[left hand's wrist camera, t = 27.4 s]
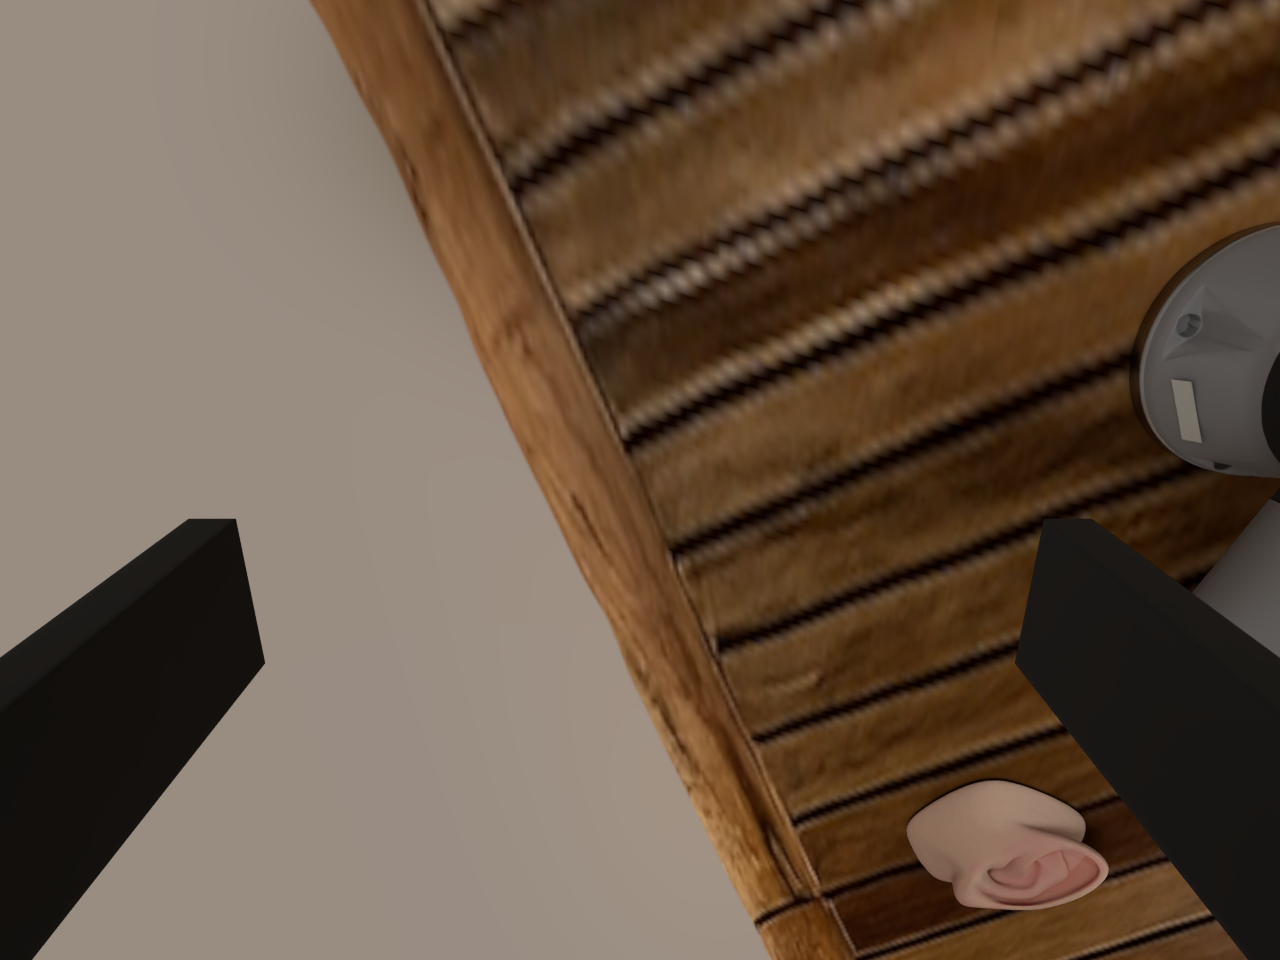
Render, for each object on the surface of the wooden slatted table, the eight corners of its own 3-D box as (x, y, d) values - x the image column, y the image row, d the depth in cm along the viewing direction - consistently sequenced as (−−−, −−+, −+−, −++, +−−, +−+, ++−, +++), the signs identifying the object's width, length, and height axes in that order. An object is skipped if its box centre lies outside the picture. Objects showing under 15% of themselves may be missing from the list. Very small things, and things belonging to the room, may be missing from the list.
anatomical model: (897, 886, 58) (1006, 788, 55) (881, 844, 62) (982, 750, 59) (1022, 958, 61) (1133, 869, 58) (1000, 914, 65) (1103, 827, 61)
